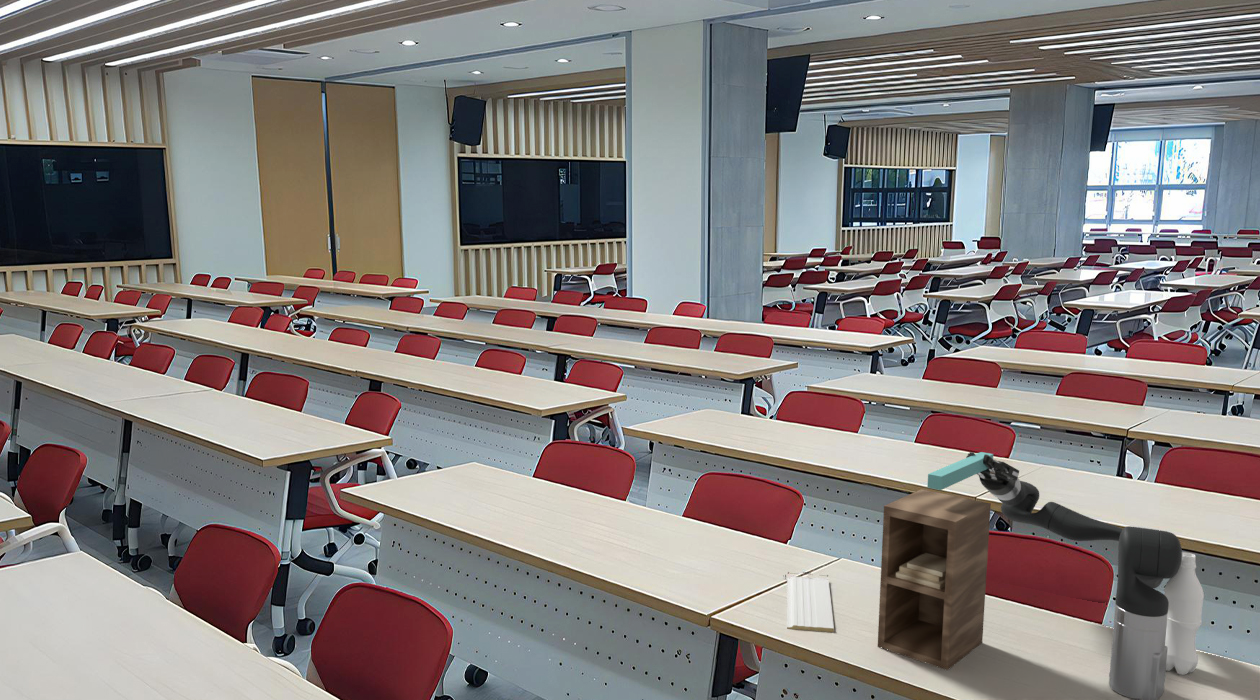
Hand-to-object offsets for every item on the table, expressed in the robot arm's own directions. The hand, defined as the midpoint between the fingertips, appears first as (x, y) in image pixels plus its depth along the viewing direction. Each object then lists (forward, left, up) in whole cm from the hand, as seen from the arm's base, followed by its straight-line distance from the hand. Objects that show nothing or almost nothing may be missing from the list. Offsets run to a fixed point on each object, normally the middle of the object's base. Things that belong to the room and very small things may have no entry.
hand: (977, 457), depth 219 cm
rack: (0, +21, -39) cm, 44 cm away
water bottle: (-43, -4, -39) cm, 58 cm away
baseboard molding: (+32, +20, -40) cm, 55 cm away
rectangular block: (0, +9, -3) cm, 9 cm away
